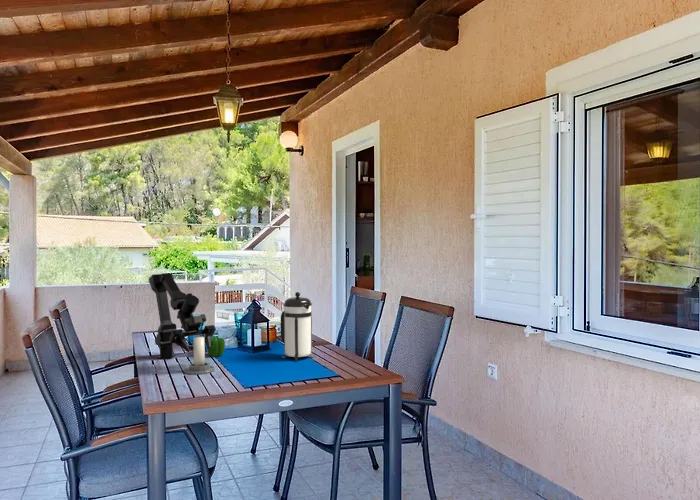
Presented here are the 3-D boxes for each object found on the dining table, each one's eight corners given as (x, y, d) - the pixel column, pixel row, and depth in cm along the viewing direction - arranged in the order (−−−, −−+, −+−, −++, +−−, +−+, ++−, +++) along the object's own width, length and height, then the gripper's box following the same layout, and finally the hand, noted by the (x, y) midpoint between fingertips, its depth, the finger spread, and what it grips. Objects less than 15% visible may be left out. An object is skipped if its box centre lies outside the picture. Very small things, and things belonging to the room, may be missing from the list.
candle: (198, 367, 222) (198, 336, 222) (207, 368, 220) (206, 337, 220) (191, 369, 218) (191, 338, 218) (200, 370, 216) (199, 338, 216)
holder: (189, 367, 225) (189, 361, 225) (217, 367, 225) (217, 361, 225) (180, 374, 213) (180, 368, 213) (209, 374, 213) (209, 368, 213)
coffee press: (317, 353, 249) (316, 290, 249) (311, 361, 233) (310, 293, 233) (281, 353, 251) (280, 290, 250) (273, 361, 235) (272, 293, 234)
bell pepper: (221, 353, 253) (221, 332, 252) (227, 356, 246) (227, 334, 245) (204, 355, 248) (203, 334, 248) (209, 358, 241) (209, 336, 241)
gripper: (171, 310, 216) (183, 341, 208) (213, 306, 228) (226, 335, 220) (164, 327, 222) (175, 358, 214) (205, 322, 234) (217, 351, 226)
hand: (199, 350), depth 218 cm, fingers open, 9 cm apart
